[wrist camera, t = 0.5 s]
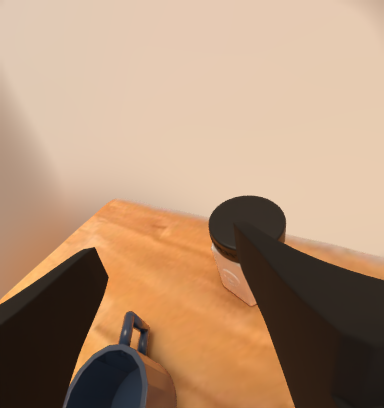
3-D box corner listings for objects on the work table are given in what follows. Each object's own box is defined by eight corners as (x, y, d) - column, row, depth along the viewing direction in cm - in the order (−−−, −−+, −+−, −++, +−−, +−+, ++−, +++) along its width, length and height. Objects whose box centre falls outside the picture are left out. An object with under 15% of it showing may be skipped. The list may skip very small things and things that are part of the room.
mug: (174, 468, 18) (136, 481, 13) (97, 468, 19) (35, 481, 14) (178, 325, 26) (157, 301, 21) (125, 332, 27) (93, 310, 23)
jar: (211, 278, 30) (190, 226, 22) (242, 242, 33) (233, 187, 26) (265, 320, 24) (262, 269, 17) (296, 271, 28) (305, 210, 20)
